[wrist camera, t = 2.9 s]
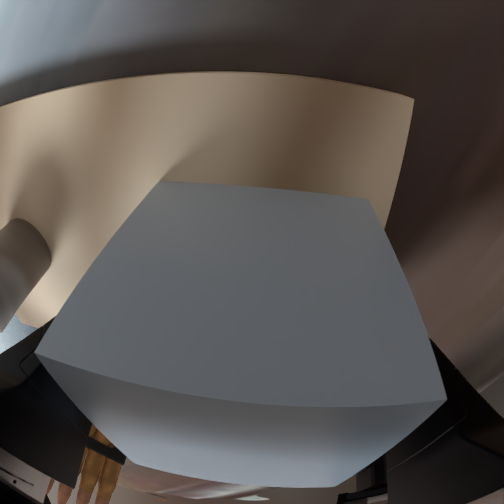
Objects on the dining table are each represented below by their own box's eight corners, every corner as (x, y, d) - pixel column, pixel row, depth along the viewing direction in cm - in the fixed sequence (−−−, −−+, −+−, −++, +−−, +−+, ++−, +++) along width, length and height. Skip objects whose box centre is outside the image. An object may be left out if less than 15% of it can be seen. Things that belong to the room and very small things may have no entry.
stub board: (399, 93, 8) (499, 139, 3) (326, 358, 15) (330, 448, 11) (-35, 119, 9) (-110, 164, 4) (29, 310, 16) (-8, 368, 12)
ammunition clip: (40, 364, 21) (-7, 471, 12) (44, 360, 20) (-6, 473, 11) (130, 422, 25) (102, 523, 16) (139, 421, 25) (110, 528, 15)
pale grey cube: (368, 199, 9) (447, 398, 3) (327, 336, 12) (334, 486, 7) (158, 181, 9) (34, 352, 4) (178, 321, 13) (134, 463, 7)
